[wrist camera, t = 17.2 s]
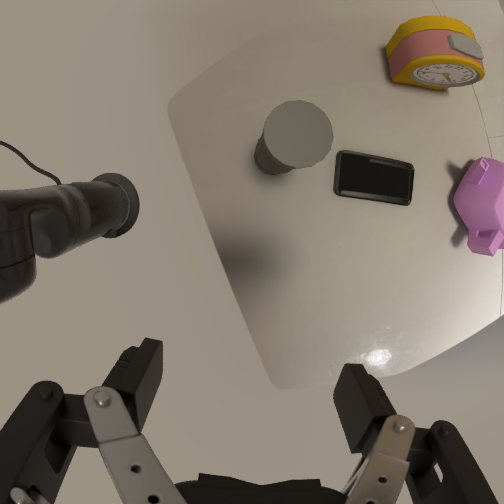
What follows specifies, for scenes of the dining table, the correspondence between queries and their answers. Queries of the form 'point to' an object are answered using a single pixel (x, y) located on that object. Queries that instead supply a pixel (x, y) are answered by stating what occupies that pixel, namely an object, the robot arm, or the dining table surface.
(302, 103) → the candle holder
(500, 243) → the teapot
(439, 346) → the dining table surface
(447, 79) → the alarm clock
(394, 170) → the phone
